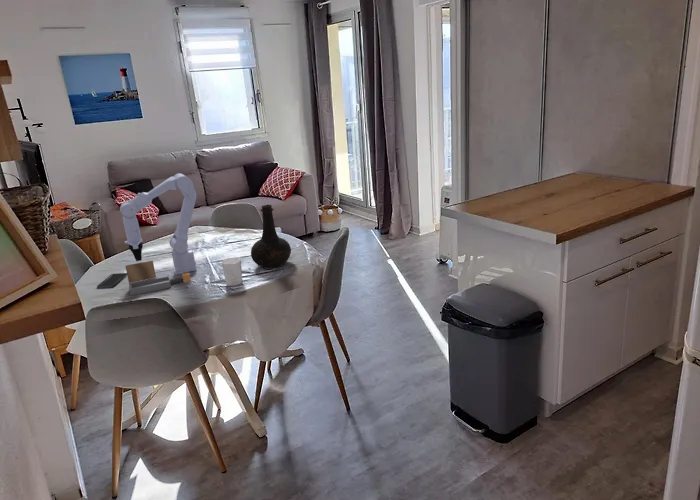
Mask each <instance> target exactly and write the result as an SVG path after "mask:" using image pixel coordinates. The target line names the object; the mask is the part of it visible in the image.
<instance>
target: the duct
mask: <svg viewBox="0 0 700 500" xmlns="http://www.w3.org/2000/svg"><path fill="white" fill-rule="evenodd" d="M165 280H169V281H165ZM160 281H164V282H160ZM171 285H172V284H170V277H169V275H164V276H163V275H162V276H159V277H156V278H152V279H146V280H141V281H136V282H131V283H129V282H128V290H129V295H130V296H135V295H140V294H145V293H148V292H149V293H150V292H155V291H159V290H164V289H169V288H171Z"/></svg>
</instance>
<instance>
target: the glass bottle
mask: <svg viewBox="0 0 700 500" xmlns="http://www.w3.org/2000/svg"><path fill="white" fill-rule="evenodd" d="M273 211H274V208H273V207H272V205H271V204H264V205H261V209H260V212H261V213H262V234H261V238H260V239H259V240H257V241H256V242H254V244H252V247H251V249H250V257H251V258H252V261H253V262H254V263H255V264H256V265H257V266H259V267H261V268H266V269H273V268H274V267H275V268H279V267H281V265H282V266H283V265H284V264H286V263H287V262H288V260H289V258H291V253H292V247H291V245H290V243H289V242H288V241H287V240H286V239H284V238H282V237H279V235H278V233H277V230H276V225H275V223H274V222H275V220H274V215H273Z"/></svg>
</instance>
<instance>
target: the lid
mask: <svg viewBox="0 0 700 500" xmlns="http://www.w3.org/2000/svg"><path fill="white" fill-rule="evenodd" d="M124 267H125V271H126V272H125V273H127V276H126V277H127V280H128V284H129V283H132V282H138V281H143V280H148V279H153V278H157V276H156V275H157V273H156V269H155V265H154V260H148V261H142V262H138V263H132V264H127V265H126V264H125V266H124Z"/></svg>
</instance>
